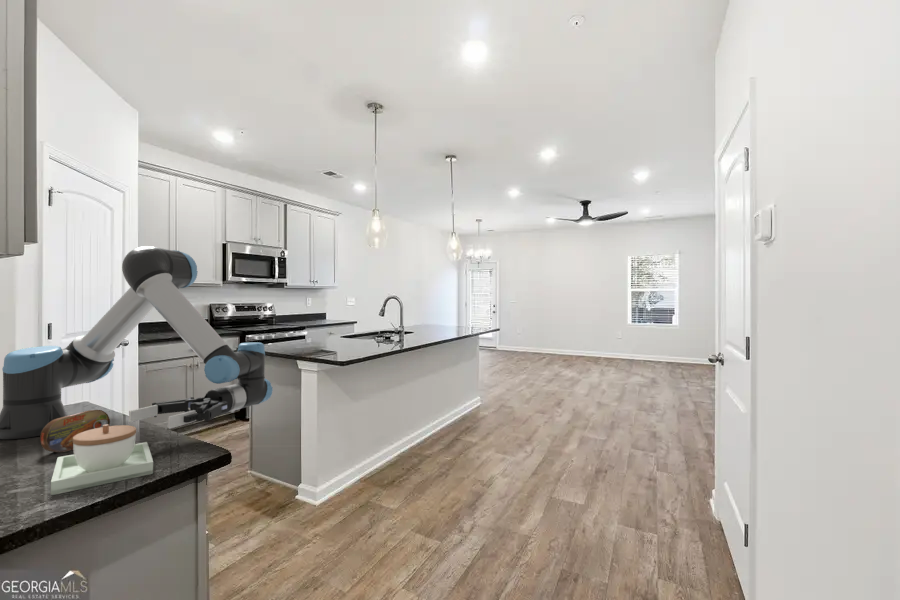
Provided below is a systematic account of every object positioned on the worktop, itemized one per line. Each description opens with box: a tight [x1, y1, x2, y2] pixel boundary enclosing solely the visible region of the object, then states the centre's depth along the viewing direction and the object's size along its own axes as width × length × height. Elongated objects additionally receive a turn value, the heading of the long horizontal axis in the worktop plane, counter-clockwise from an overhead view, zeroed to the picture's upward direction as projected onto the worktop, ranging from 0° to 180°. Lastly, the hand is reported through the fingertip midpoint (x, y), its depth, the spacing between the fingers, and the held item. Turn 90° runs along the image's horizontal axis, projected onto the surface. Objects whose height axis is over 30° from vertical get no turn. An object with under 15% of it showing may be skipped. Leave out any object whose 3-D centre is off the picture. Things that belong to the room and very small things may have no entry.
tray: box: [50, 441, 154, 496], centre depth 90 cm, size 16×16×3 cm
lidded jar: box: [72, 424, 137, 473], centre depth 90 cm, size 11×11×9 cm
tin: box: [39, 409, 111, 453], centre depth 106 cm, size 15×3×8 cm, turn 168°
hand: (148, 419), depth 99 cm, fingers open, 13 cm apart
